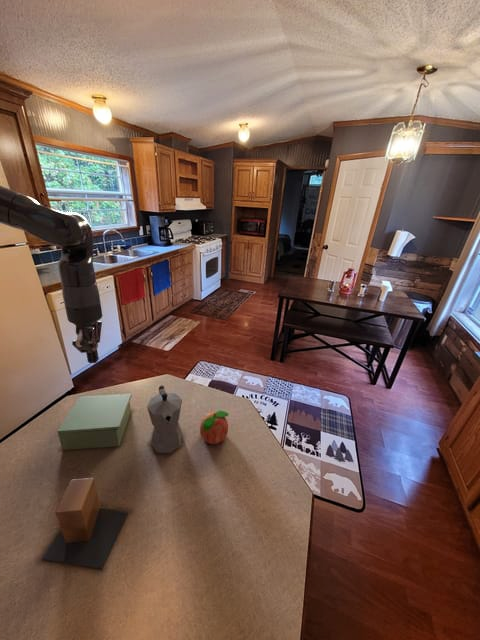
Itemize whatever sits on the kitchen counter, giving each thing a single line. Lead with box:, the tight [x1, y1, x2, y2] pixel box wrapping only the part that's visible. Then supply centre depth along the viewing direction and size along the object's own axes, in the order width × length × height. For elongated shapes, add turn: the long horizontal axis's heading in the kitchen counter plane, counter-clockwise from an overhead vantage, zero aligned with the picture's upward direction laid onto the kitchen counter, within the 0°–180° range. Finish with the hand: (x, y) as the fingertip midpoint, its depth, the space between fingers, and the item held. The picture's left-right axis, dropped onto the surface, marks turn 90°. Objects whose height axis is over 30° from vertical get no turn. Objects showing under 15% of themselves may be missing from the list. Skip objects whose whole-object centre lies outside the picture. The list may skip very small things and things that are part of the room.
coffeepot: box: [146, 385, 183, 454], centre depth 73 cm, size 15×9×18 cm, turn 23°
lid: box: [56, 393, 132, 434], centre depth 75 cm, size 16×14×1 cm
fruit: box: [199, 410, 229, 445], centre depth 77 cm, size 9×10×10 cm
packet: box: [55, 477, 101, 543], centre depth 52 cm, size 4×6×10 cm
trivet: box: [41, 507, 129, 571], centre depth 53 cm, size 12×10×1 cm
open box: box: [57, 400, 132, 450], centre depth 77 cm, size 15×14×7 cm
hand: (93, 361), depth 68 cm, fingers closed
